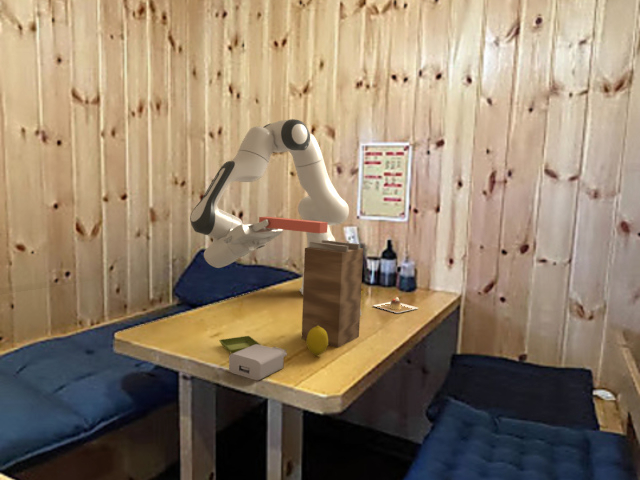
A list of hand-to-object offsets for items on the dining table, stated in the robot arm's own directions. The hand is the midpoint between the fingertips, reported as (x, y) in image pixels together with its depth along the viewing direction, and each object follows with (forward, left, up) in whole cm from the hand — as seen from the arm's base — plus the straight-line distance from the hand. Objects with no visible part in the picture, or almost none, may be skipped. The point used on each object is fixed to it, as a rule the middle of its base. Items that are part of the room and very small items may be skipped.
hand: (274, 221), depth 151 cm
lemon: (+15, +27, -32) cm, 44 cm away
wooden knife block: (0, +22, -32) cm, 39 cm away
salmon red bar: (0, +7, -2) cm, 7 cm away
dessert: (-44, +22, -33) cm, 59 cm away
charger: (+29, +21, -32) cm, 48 cm away
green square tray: (+23, +8, -33) cm, 41 cm away
